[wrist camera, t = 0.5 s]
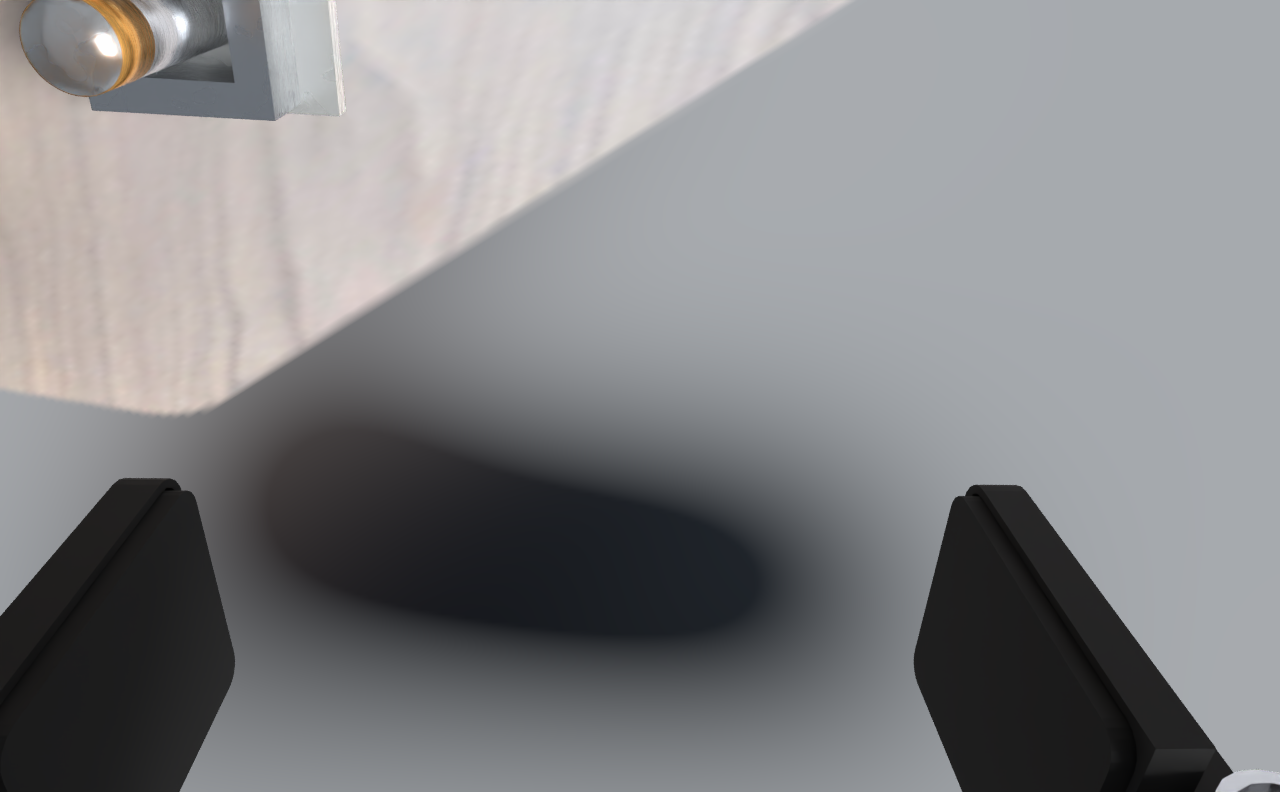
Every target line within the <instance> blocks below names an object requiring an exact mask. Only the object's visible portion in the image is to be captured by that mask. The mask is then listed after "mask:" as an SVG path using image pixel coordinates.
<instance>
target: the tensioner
mask: <svg viewBox="0 0 1280 792" xmlns="http://www.w3.org/2000/svg"><path fill="white" fill-rule="evenodd" d="M222 3H223V10H224V16H225V23H226V29H227V36H228V43H227V44H225V45H223V46H221V47H218V48H216V49H213V50H211V51H208V52H206V53H203V54H200V55H198V56H195V57H193V58H190V59H188V60H185V61H183V62H180V63H177V64H175V65H172V66H170V67H167V68H165V69H162V70H160V71H157V72H154V73H152V74H149V75H147V76H144V77H142V78H140V79H138V80H136V81H134V82H131V83H128V84H126V85H123V86H121V87H118V88H116V89H113V90H111V91H108V92H106V93H103V94H100V95H97V96H91V97H89V99H90V104H91V108H92V110H95V111H112V112H130V113H147V114H165V115H182V116H199V117H217V118H234V119H252V120H269V121H276V120H277V119H279V118H280V117H282V116H283V115H285V114H286V113H289V114H306V115H323V116H341V115H342V114H343V113H344V112H345V111H346V105H345V95H344V84H343V74H342V63H341V53H340V42H339V32H338V21H337V11H336V0H222Z"/></svg>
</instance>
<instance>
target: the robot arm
mask: <svg viewBox="0 0 1280 792" xmlns="http://www.w3.org/2000/svg"><path fill="white" fill-rule="evenodd" d="M234 667H235V656H234V651H233V647H232V643H231V639H230V635H229V631H228V627H227V623H226V619H225V615H224V611H223V606H222V603H221V598H220V594H219V591H218V586H217V582H216V578H215V574H214V570H213V566H212V562H211V558H210V555H209V550H208V546H207V542H206V538H205V534H204V530H203V526H202V522H201V518H200V515H199V510H198V506H197V502H196V499H195V497H194V495H193V494H192V492H190V491H181V488H180V486H179V485H178V483H177V482H176V481H175V480H173V479H163V478H124V479H119V480H118V481H117V482H116V483H114V484H113V485H112V486H111V488H110V489H109V490H108V491H107V492H106V494H105V495H104V496H103V497H102V498H101V499H100V500H99V502H98V503H97V504H96V505H95V506H94V508H93V509H92V510H91V511H90V512H89V513H88V515H87V516H86V517H85V518H84V519H83V520H82V522H81V523H80V524H79V525H78V526H77V528H76V529H75V530H74V531H73V532H72V533H71V534H70V536H69V537H68V538H67V539H66V540H65V542H64V543H63V544H62V545H61V546H60V547H59V548H58V550H57V551H56V552H55V553H54V554H53V555H52V557H51V558H50V559H49V560H48V561H47V562H46V564H45V565H44V566H43V567H42V568H41V570H40V571H39V572H38V573H37V574H36V575H35V576H34V578H33V579H32V580H31V581H30V582H29V584H28V585H27V586H26V587H25V588H24V589H23V590H22V592H21V593H20V594H19V595H18V596H17V598H16V599H15V600H14V601H13V602H12V603H11V605H10V606H9V607H8V608H7V609H6V610H5V612H4V613H3V614H2V615H1V616H0V792H179V791H180V789H181V787H182V785H183V783H184V781H185V779H186V777H187V774H188V773H189V770H190V768H191V766H192V764H193V762H194V760H195V758H196V756H197V754H198V752H199V750H200V748H201V746H202V743H203V741H204V739H205V737H206V735H207V733H208V731H209V729H210V727H211V725H212V723H213V721H214V718H215V716H216V714H217V712H218V710H219V708H220V706H221V704H222V702H223V699H224V698H225V696H226V693H227V691H228V689H229V687H230V685H231V682H232V679H233V675H234ZM914 670H915V676H916V679H917V683H918V685H919V688H920V690H921V693H922V695H923V697H924V700H925V703H926V705H927V707H928V710H929V712H930V715H931V717H932V720H933V722H934V724H935V727H936V729H937V731H938V734H939V736H940V739H941V741H942V744H943V746H944V748H945V751H946V753H947V756H948V758H949V760H950V763H951V765H952V768H953V770H954V772H955V775H956V777H957V780H958V782H959V785H960V787H961V789H962V792H1280V773H1277V772H1271V771H1265V770H1259V769H1256V770H1245V771H1237V772H1235V773H1233V772H1232V770H1231V769H1230V767H1229V766H1228V765H1227V763H1226V762H1225V761H1224V759H1223V758H1222V757H1221V755H1220V754H1219V753H1218V752H1217V750H1216V748H1215V746H1214V745H1213V743H1212V742H1211V741H1210V740H1209V738H1208V737H1207V735H1206V734H1205V733H1204V731H1203V730H1202V729H1201V727H1200V726H1199V725H1198V723H1197V722H1196V720H1195V719H1194V718H1193V716H1192V715H1191V714H1190V712H1189V711H1188V710H1187V708H1186V707H1185V706H1184V704H1183V703H1182V702H1181V700H1180V699H1179V698H1178V696H1177V695H1176V693H1175V692H1174V691H1173V689H1172V688H1171V687H1170V685H1169V684H1168V683H1167V681H1166V680H1165V679H1164V677H1163V676H1162V675H1161V673H1160V672H1159V670H1158V669H1157V668H1156V666H1155V665H1154V664H1153V662H1152V661H1151V660H1150V658H1149V657H1148V656H1147V654H1146V653H1145V652H1144V650H1143V649H1142V647H1141V646H1140V645H1139V643H1138V642H1137V641H1136V639H1135V638H1134V637H1133V635H1132V634H1131V633H1130V631H1129V630H1128V629H1127V627H1126V626H1125V625H1124V623H1123V622H1122V620H1121V619H1120V618H1119V616H1118V615H1117V614H1116V612H1115V611H1114V610H1113V608H1112V607H1111V606H1110V604H1109V603H1108V601H1107V600H1106V599H1105V597H1104V596H1103V595H1102V593H1101V592H1100V591H1099V589H1098V588H1097V587H1096V585H1095V584H1094V583H1093V581H1092V580H1091V579H1090V577H1089V576H1088V574H1087V573H1086V572H1085V570H1084V569H1083V568H1082V566H1081V565H1080V564H1079V562H1078V561H1077V560H1076V558H1075V557H1074V556H1073V554H1072V553H1071V551H1070V550H1069V549H1068V547H1067V546H1066V545H1065V543H1064V542H1063V541H1062V539H1061V538H1060V537H1059V535H1058V534H1057V533H1056V531H1055V530H1054V528H1053V527H1052V526H1051V525H1050V523H1049V522H1048V520H1047V519H1046V518H1045V516H1044V515H1043V514H1042V512H1041V511H1040V510H1039V508H1038V507H1037V505H1036V504H1035V503H1034V502H1033V500H1032V499H1031V497H1030V496H1029V495H1028V493H1027V492H1026V491H1025V490H1024V489H1023V488H1022V487H1021V486H1017V485H973V486H971V487H970V488H969V490H968V491H967V492H966V495H965V496H958V497H956V498H955V499H954V501H953V503H952V506H951V509H950V513H949V518H948V521H947V525H946V529H945V533H944V537H943V541H942V545H941V549H940V553H939V557H938V561H937V565H936V569H935V573H934V577H933V581H932V585H931V589H930V593H929V597H928V601H927V605H926V609H925V613H924V617H923V621H922V624H921V629H920V633H919V636H918V641H917V645H916V648H915V653H914Z"/></svg>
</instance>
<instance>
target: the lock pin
mask: <svg viewBox="0 0 1280 792" xmlns="http://www.w3.org/2000/svg"><path fill="white" fill-rule="evenodd" d="M19 32H20V40H21V44H22V47H23V50H24V53H25V55H26V57H27V59H28V60H29V62H30V64H31V65H32V66H33V68H34V69H35V70H36V72H37V73H38V74H39V75H40V76H41V77H42V78H43V79H44V80H46V81H47V82H48V83H49V84H51V85H52V86H54V87H55V88H57V89H59V90H61V91H63V92H66V93H68V94H71V95H75V96H82V97H91V96H97V95H100V94H103V93H106V92H108V91H111V90H113V89H116V88H118V87H121V86H123V85H126V84H128V83H131V82H134V81H136V80H138V79H140V78H142V77H144V76H147V75H149V74H152V73H154V72H157V71H160V70H162V69H165V68H167V67H170V66H172V65H175V64H177V63H180V62H183V61H185V60H188V59H190V58H193V57H195V56H198V55H200V54H203V53H206V52H208V51H211V50H213V49H216V48H218V47H221V46H223V45H225V44H227V43H228V36H227V29H226V23H225V16H224V10H223V3H222V0H33V1H32V2H31V3H30V4H29V5H28V6H27V7H26V9H25V10H24V12H23V14H22V17H21V20H20V28H19Z"/></svg>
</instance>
